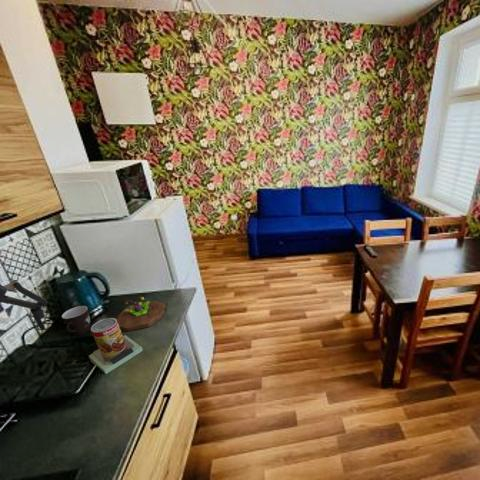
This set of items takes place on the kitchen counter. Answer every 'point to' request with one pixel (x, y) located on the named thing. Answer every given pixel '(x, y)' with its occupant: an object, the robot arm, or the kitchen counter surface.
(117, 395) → the kitchen counter surface
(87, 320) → the coffee mug
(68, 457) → the kitchen counter surface
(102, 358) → the scale pan
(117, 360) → the scale
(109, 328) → the canned food
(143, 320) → the plant
